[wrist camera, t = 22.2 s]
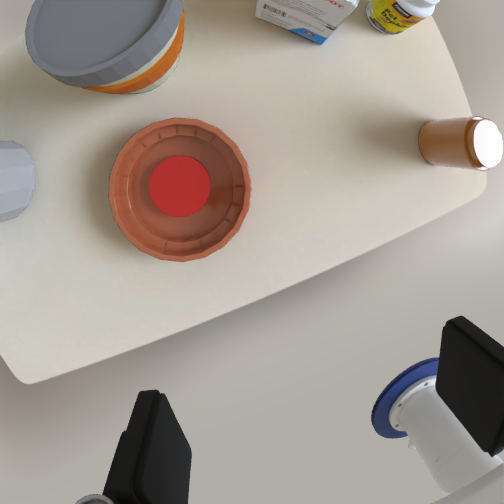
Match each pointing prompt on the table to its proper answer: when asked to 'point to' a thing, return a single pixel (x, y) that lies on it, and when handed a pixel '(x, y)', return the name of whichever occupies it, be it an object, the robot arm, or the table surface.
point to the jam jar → (461, 143)
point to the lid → (180, 186)
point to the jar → (15, 179)
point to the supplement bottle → (398, 14)
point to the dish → (193, 226)
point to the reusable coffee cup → (106, 42)
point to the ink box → (306, 15)
